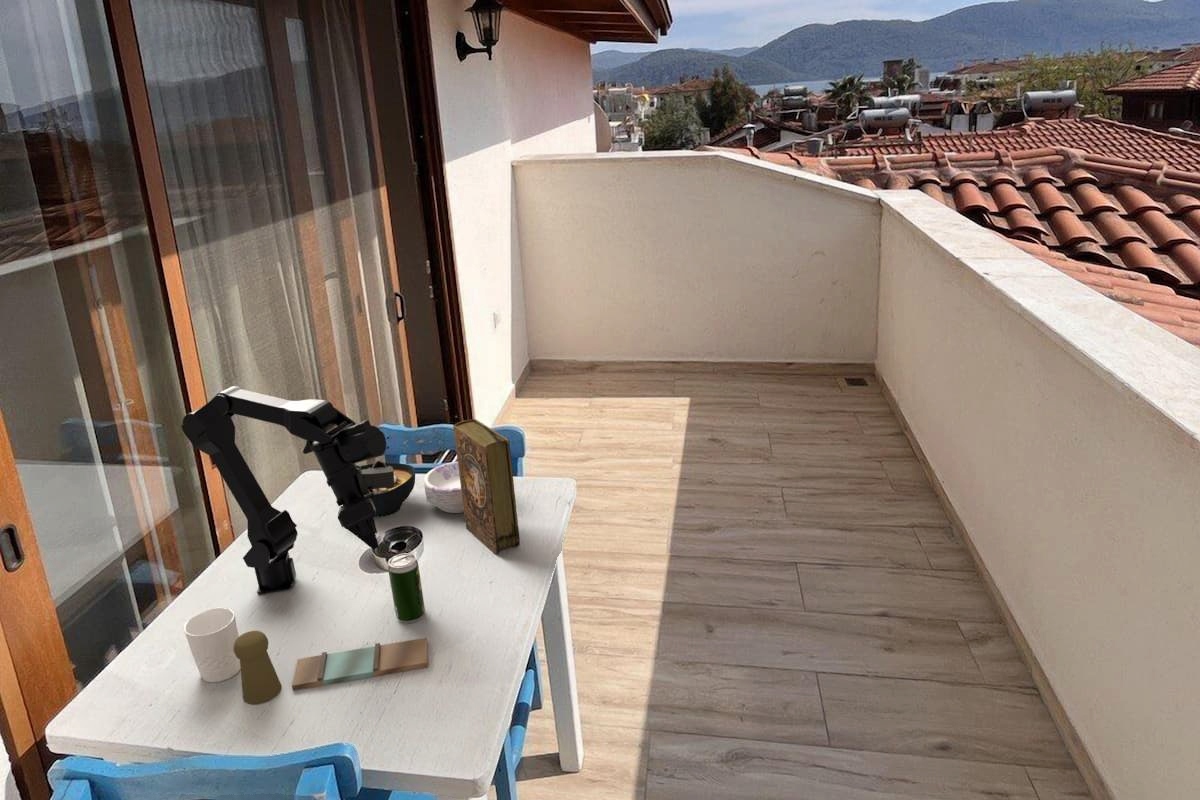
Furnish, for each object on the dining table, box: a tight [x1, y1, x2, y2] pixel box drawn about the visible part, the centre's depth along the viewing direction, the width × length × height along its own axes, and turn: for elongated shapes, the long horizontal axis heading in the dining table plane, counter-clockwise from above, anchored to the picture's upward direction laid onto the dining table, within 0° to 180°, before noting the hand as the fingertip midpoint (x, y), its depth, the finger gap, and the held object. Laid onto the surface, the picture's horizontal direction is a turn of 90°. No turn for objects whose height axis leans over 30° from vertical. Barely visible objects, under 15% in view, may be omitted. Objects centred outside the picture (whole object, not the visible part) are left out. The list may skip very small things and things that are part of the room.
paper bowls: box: [423, 461, 464, 514], centre depth 193 cm, size 15×15×8 cm
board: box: [291, 637, 429, 691], centre depth 140 cm, size 22×7×2 cm, turn 101°
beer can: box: [387, 552, 426, 624], centre depth 151 cm, size 5×5×12 cm
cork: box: [234, 630, 283, 706], centre depth 133 cm, size 6×6×11 cm
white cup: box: [183, 607, 241, 683], centre depth 140 cm, size 8×8×10 cm
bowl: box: [359, 462, 416, 518], centre depth 193 cm, size 17×17×10 cm
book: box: [452, 418, 521, 555], centre depth 175 cm, size 16×6×25 cm, turn 34°
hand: (375, 540), depth 154 cm, fingers open, 9 cm apart
